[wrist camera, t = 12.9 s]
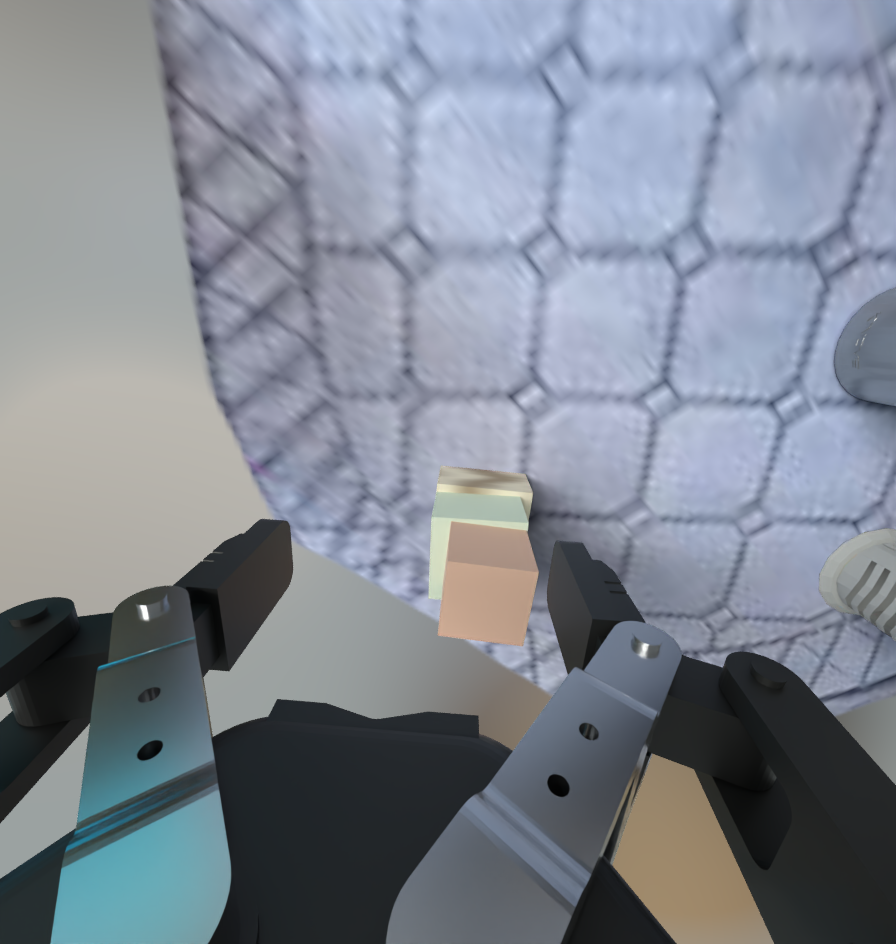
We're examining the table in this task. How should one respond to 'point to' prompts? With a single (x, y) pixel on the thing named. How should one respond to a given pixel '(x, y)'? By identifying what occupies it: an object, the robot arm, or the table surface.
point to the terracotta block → (487, 584)
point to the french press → (864, 579)
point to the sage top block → (467, 511)
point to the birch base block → (485, 483)
